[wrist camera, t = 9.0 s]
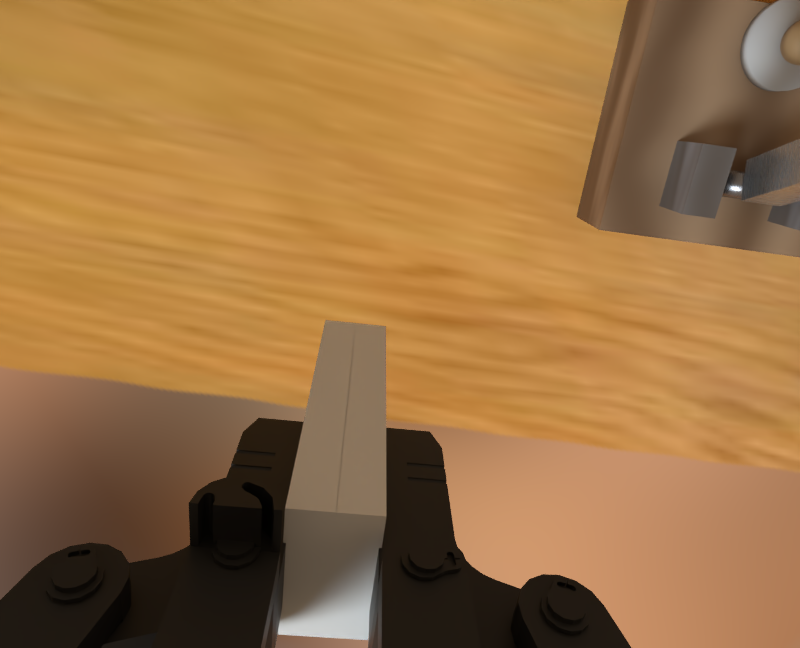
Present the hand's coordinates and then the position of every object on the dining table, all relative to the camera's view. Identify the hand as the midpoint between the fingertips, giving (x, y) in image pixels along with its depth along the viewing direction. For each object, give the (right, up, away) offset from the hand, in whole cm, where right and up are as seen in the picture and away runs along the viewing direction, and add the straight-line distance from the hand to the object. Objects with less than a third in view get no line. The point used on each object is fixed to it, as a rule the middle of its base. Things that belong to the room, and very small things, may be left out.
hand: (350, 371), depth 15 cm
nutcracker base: (+23, +15, +26) cm, 37 cm away
